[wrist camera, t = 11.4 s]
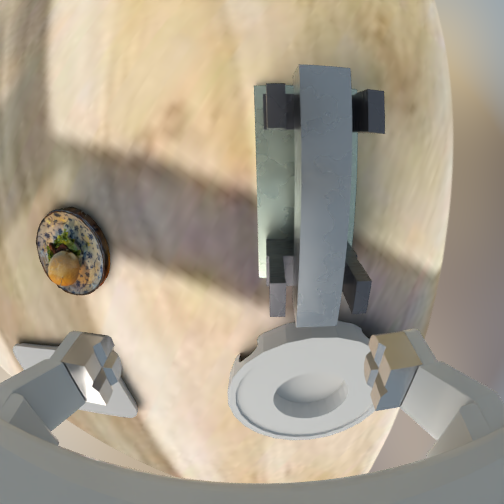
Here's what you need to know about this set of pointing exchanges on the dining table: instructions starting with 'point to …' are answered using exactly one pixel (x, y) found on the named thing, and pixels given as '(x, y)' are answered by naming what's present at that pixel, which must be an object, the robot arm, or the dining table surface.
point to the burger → (73, 251)
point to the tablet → (116, 406)
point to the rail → (321, 191)
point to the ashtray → (302, 382)
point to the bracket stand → (283, 190)
